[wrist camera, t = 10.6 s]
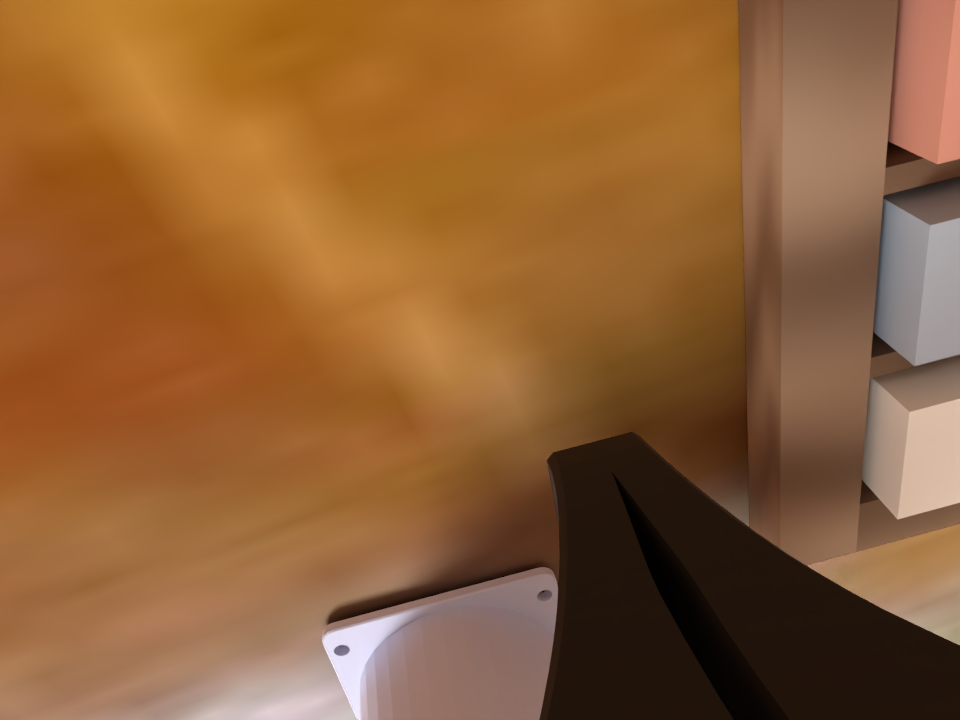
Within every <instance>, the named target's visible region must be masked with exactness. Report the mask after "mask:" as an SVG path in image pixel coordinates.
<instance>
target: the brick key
mask: <svg viewBox="0 0 960 720" xmlns="http://www.w3.org/2000/svg"><path fill="white" fill-rule="evenodd" d="M888 141H889V142H891V143H893V144H895V145H897V146H899V147H901V148H903V149H906V150H908V151H910V152H912V153H914V154H916V155H918V156H920V157H922V158H925V159H927V160H929V161H931V162H933V163H935V164H941V163H945V162H949V161H953V160H957V159H960V0H898V11H897V24H896V37H895V50H894V63H893V76H892V89H891V102H890V115H889V128H888Z"/></svg>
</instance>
